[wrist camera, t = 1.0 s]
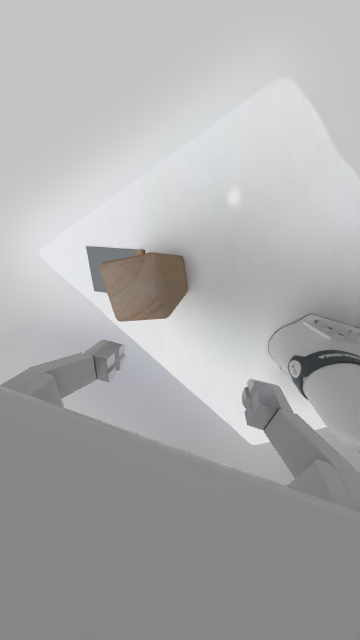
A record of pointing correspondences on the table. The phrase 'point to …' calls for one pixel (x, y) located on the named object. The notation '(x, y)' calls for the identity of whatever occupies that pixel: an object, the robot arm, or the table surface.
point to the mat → (102, 255)
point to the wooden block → (144, 285)
